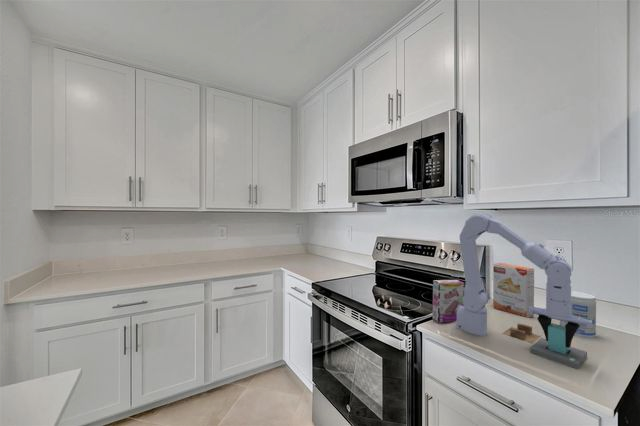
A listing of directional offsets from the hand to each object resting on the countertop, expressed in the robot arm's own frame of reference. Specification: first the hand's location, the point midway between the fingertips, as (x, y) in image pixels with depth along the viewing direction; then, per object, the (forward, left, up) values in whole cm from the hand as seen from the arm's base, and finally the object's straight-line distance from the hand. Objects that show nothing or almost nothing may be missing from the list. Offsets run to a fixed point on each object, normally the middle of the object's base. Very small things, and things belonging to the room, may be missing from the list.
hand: (558, 343), depth 82 cm
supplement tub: (-1, +26, -5) cm, 27 cm away
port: (0, 0, -4) cm, 4 cm away
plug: (0, 0, -2) cm, 2 cm away
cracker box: (-23, +31, -5) cm, 39 cm away
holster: (-12, +6, -4) cm, 14 cm away
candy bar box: (-35, -1, -5) cm, 35 cm away
